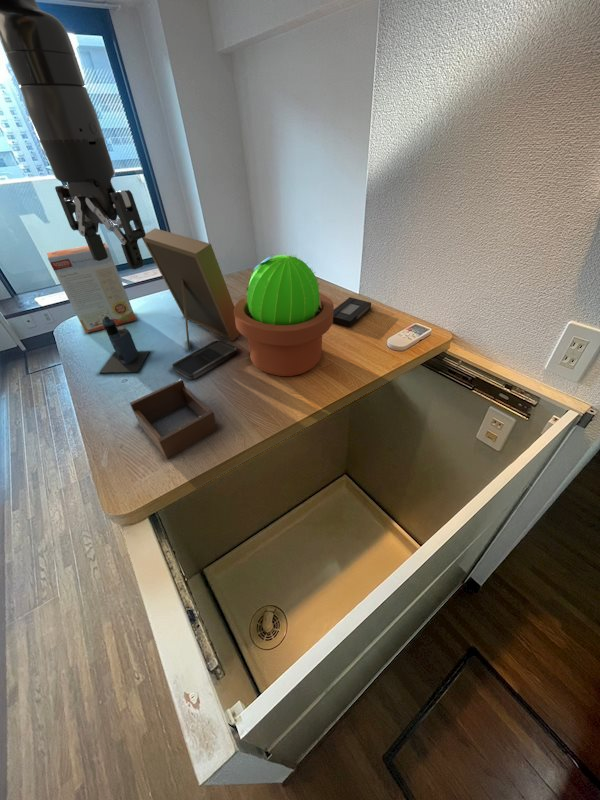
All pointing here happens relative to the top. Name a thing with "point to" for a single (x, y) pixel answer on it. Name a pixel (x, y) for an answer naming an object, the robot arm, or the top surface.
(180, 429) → the wooden tray
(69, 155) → the robot arm
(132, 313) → the cracker box
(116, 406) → the top surface
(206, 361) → the phone
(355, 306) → the vhs tape
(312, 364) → the potted cactus
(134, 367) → the coaster
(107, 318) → the vaping device
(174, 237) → the photo frame
